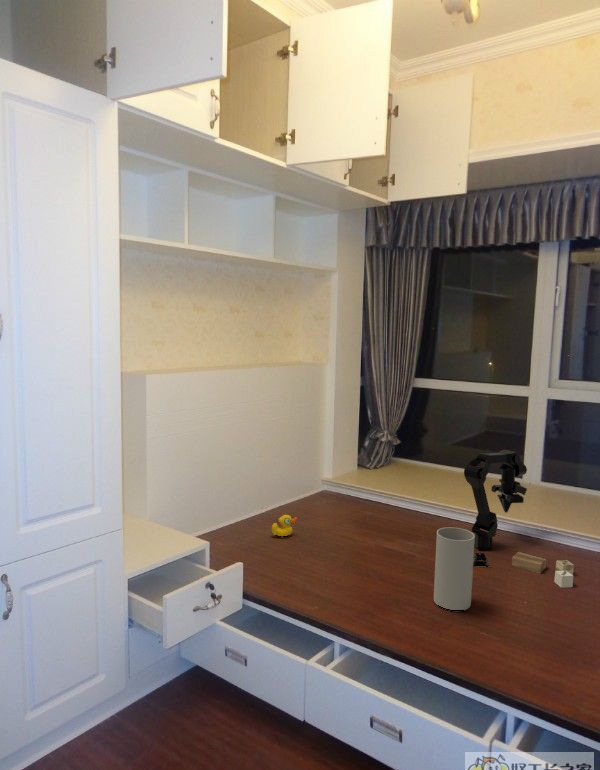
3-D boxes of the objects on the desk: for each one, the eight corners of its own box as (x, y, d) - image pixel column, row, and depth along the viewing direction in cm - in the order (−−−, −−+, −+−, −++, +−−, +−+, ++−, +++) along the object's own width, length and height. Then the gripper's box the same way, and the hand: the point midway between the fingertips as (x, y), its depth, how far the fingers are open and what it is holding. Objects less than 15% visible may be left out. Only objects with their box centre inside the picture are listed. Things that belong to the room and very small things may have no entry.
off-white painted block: (561, 587, 212) (562, 575, 212) (554, 582, 217) (555, 570, 216) (572, 587, 213) (573, 575, 212) (565, 581, 217) (566, 570, 217)
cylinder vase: (464, 616, 190) (468, 543, 187) (428, 605, 196) (431, 535, 194) (474, 600, 200) (478, 532, 198) (440, 591, 207) (443, 524, 204)
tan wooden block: (539, 574, 224) (540, 564, 223) (511, 566, 231) (512, 557, 230) (545, 568, 229) (546, 559, 229) (517, 561, 236) (518, 551, 236)
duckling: (295, 533, 260) (295, 512, 259) (297, 538, 255) (298, 516, 254) (270, 535, 258) (270, 513, 257) (272, 539, 253) (272, 517, 252)
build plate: (492, 562, 235) (492, 551, 234) (497, 570, 228) (498, 559, 227) (461, 561, 235) (462, 550, 235) (466, 569, 228) (467, 557, 227)
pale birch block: (562, 576, 222) (563, 565, 221) (555, 571, 226) (556, 560, 226) (572, 576, 223) (573, 564, 222) (566, 571, 227) (566, 559, 226)
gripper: (536, 484, 247) (533, 518, 248) (514, 472, 265) (512, 505, 267) (512, 484, 245) (509, 519, 247) (491, 473, 264) (489, 505, 265)
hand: (505, 512), depth 256 cm, fingers closed
